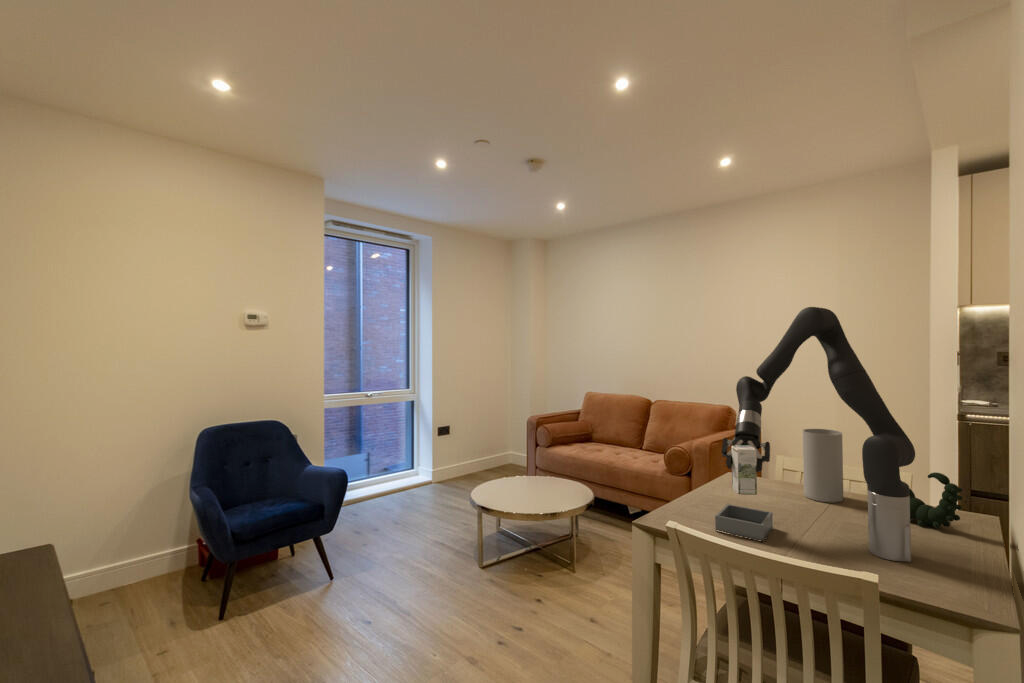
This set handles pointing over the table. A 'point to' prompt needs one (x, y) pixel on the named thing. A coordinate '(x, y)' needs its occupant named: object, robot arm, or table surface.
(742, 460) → the syrup box
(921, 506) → the toy figurine
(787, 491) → the table surface
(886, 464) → the robot arm
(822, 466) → the cylinder vase
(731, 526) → the crate
